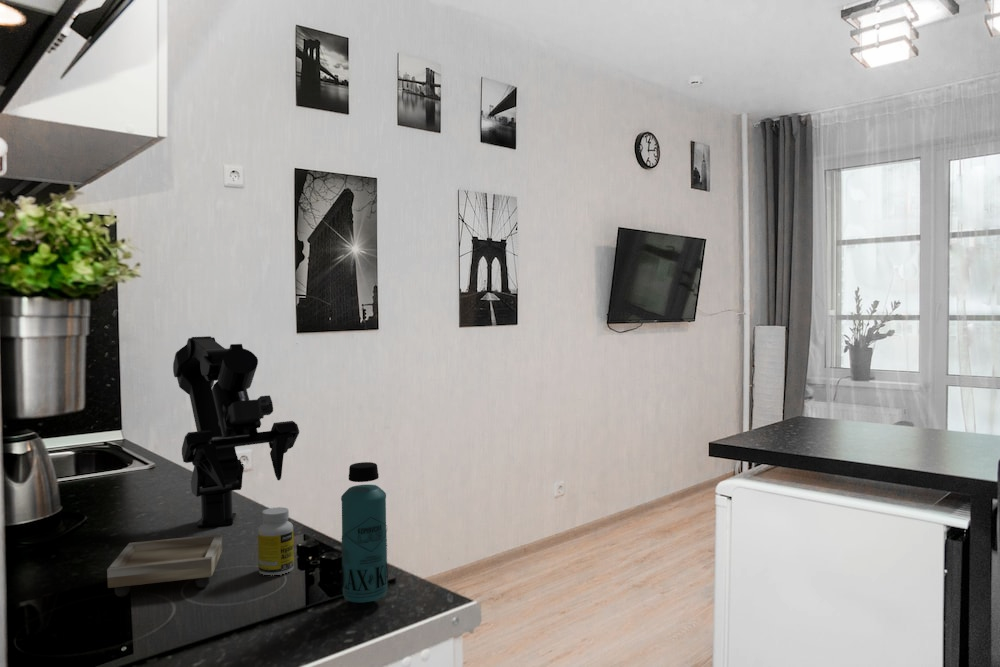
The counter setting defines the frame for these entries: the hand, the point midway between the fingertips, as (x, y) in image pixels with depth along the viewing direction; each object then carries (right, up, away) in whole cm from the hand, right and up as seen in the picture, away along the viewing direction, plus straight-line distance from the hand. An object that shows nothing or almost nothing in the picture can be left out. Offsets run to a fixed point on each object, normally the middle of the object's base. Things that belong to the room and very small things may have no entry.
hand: (252, 483), depth 115 cm
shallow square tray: (-10, -13, -9) cm, 19 cm away
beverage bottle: (+23, -13, -18) cm, 32 cm away
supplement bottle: (+6, -13, -5) cm, 15 cm away
